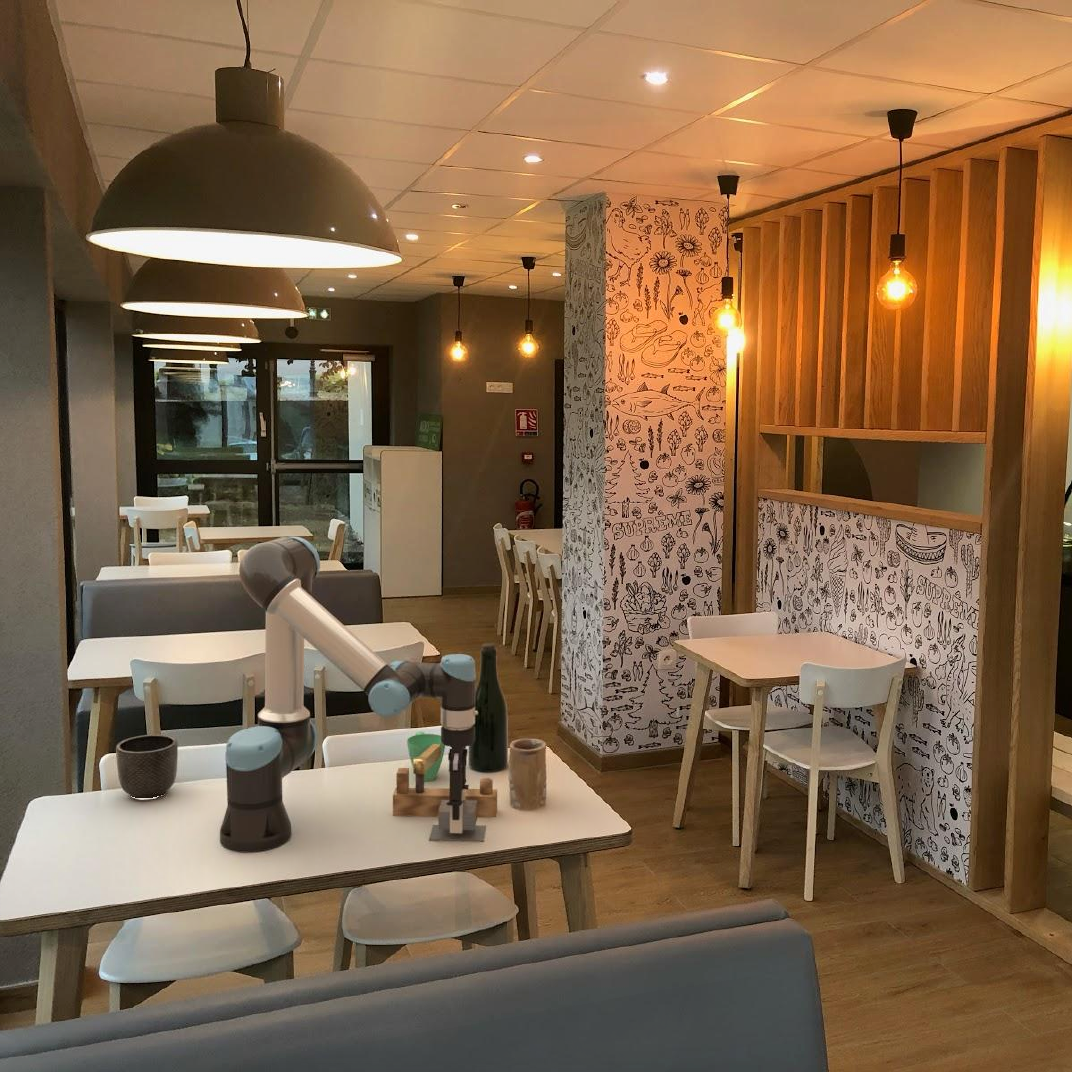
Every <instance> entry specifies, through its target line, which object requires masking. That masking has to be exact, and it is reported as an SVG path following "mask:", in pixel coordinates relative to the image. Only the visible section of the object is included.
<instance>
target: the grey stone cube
mask: <svg viewBox="0 0 1072 1072" xmlns="http://www.w3.org/2000/svg"><path fill="white" fill-rule="evenodd" d="M447 802H449V800H442V801H441V804H440V808H439V811H438V816H437V817H438V820H437V822H438V823H437V825H438V829H441V830H450V806H449V805H447ZM462 803H463V818H462V830H475V826H476V824H477V820H478V817H477V800H462Z"/></svg>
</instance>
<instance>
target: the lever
mask: <svg viewBox="0 0 1072 1072" xmlns="http://www.w3.org/2000/svg"><path fill="white" fill-rule="evenodd" d="M440 757H441V745H440V744H432V745H431V746H430V747H429V748H428V749H427V750H426V751H425V752H424V753H423V754H422V755H420V756H419V757H416V758H414V759H413V766H412V772H413V774H414V775H416V774H418V775H420V774H425V773H426V771H427V770H428V769H429V768H430V767H431V766H432V765H433V764H434V763H435V762H436V761H437V760H438V759H439V758H440Z"/></svg>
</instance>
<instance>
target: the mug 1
mask: <svg viewBox="0 0 1072 1072" xmlns="http://www.w3.org/2000/svg"><path fill="white" fill-rule="evenodd" d="M406 742H407V743H406V744H407V749H408V756H409V759H410V762H411V765H412V767H413V759H414V758H416V757H419V756H420V755H422V754H423V753H424V752H425V751H426V750H427V749H428V748H429V747H430V746H431V745H432V744H440V745H441V757H440V758H439V759H438V760H437V761H436V762H435V763H434V764H433V765H432V766H431V767H430V768H429V769H428V770H427V771H426V773H425V774H424V782H429V781H430V782H431V781H433V780H436V778H437V776H438V773H439V771H440V769H441V765H442V762H443V759H444V755H445V748H446V745H444V744H443V743H442V742H441V734H434V733H425V732H424V731H418V732H416V733H415V735H411V736H410V737H408V738H407V739H406Z"/></svg>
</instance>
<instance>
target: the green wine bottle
mask: <svg viewBox="0 0 1072 1072" xmlns="http://www.w3.org/2000/svg"><path fill="white" fill-rule="evenodd" d="M479 655H480V665H479V666H480V667H479V668H480V669H479V676H478V677H479V678H478V682H477V683H476V686H475V710H474V711H478V715H475V724H474V726H475V742H474V743H473V744H472V745H470V746H467V750H468V753H467V762H468V763H467V764H468V766H469V767H470V768H471V769H472V770H475V771H478V772H487V773H489V772H490V773H491V772H497V771H501V770H503V769H506V768H507V766H508V765H509V739H508V737H509V734H508V733H509V732H508V731H509V727H508V722H509V721H508V719H509V718H508V705H507V701H506V698H505V695H504V692H503V690H502V687H501V685H500V682H499V681H500V680H499V676H498V675H499V674H498V659H497V658H498V657H497V656H498V649H497V648H496V644H494V643H490V642H489V643H488V642H487V643H483V644H482V648H481V649H480V653H479Z"/></svg>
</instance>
